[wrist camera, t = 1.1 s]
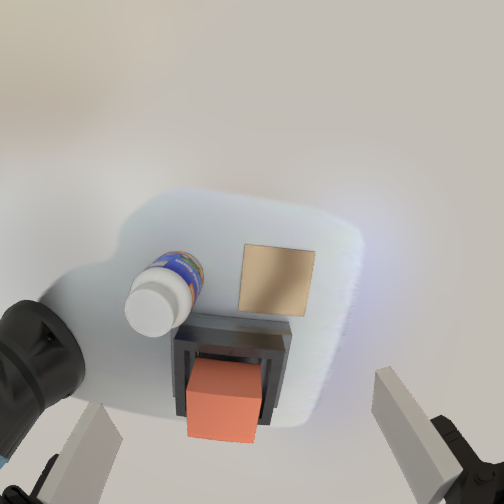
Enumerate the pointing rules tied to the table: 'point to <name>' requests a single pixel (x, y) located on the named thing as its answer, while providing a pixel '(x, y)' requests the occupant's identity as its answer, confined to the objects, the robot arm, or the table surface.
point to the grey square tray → (231, 352)
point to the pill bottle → (164, 294)
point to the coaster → (275, 280)
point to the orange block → (223, 400)
